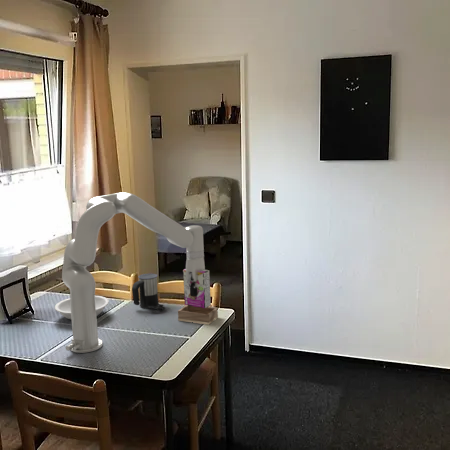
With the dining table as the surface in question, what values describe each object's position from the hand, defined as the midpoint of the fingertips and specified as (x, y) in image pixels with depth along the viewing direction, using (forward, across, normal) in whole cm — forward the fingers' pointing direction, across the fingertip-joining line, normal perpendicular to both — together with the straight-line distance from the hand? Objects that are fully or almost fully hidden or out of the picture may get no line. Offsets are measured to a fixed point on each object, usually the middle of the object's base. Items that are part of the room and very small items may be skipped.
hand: (197, 293), depth 235 cm
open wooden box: (+12, 0, 0) cm, 12 cm away
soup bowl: (+12, +16, -51) cm, 55 cm away
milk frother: (+12, -6, -27) cm, 31 cm away
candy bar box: (+6, 0, 0) cm, 6 cm away
